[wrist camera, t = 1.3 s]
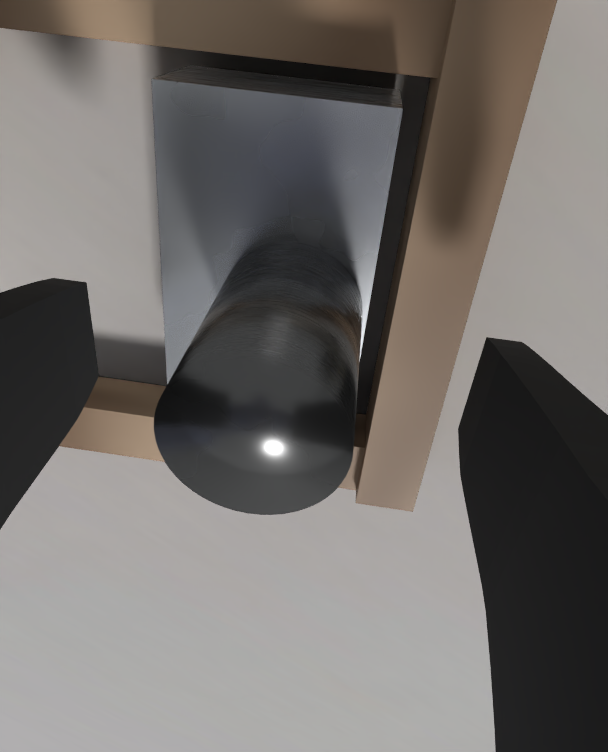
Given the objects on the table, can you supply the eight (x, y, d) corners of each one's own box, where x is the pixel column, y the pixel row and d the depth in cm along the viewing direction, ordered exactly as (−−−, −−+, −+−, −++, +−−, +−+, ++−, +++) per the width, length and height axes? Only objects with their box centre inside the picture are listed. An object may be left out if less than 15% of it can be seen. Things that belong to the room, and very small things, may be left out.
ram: (195, 385, 17) (98, 585, 11) (189, 65, 12) (18, 126, 6) (347, 407, 16) (328, 622, 11) (399, 89, 12) (414, 175, 6)
